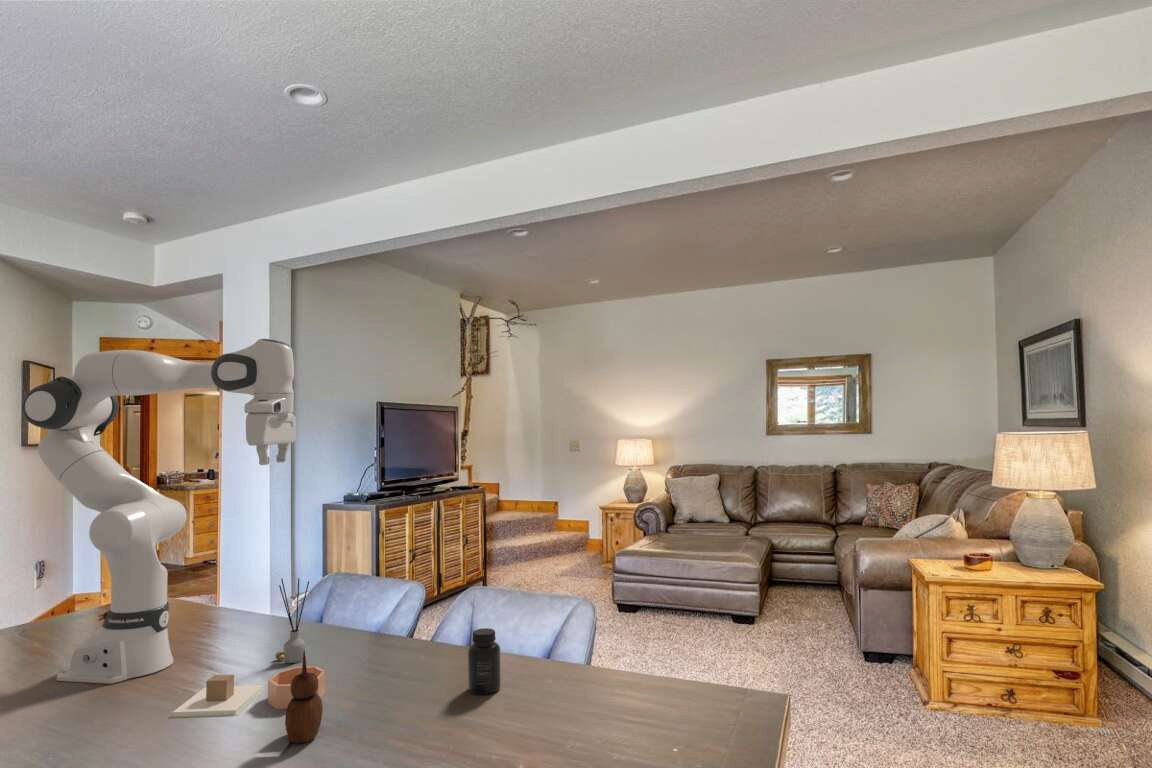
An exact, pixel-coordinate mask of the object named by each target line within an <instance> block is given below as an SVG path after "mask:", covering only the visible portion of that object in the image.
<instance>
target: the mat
mask: <svg viewBox="0 0 1152 768" xmlns="http://www.w3.org/2000/svg"><path fill="white" fill-rule="evenodd" d="M266 689H267V687H263V690H262V691H261V692H259V693H258V694H257V695H256V696H255V697H254V698H253V699H252V700H251V701H250V702H249V703H248V704H246V705H245V706H244V707H243V708H242V709H241V710H240V711H239V712H238V713H237V714H233V715H200V716H172V714H171V715H169V716H168V719H174V718H175V719H177V718H178V719H179V718H208V717H209V718H210V717H213V718H214V717H234V716H235V717H237V716H239V715H240V714H241V713H242V712H243V711H244V710H245V709H246V708H247V707H249V705H250V704H251V703H253V702H254V701H255V700H256V699H257V698H258V697H259V696H260V695H262V693H263V692H264V691H265V690H266Z"/></svg>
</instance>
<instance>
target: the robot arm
mask: <svg viewBox="0 0 1152 768" xmlns="http://www.w3.org/2000/svg"><path fill="white" fill-rule="evenodd" d="M294 364H295V361H294V353H293V349H292V347H291V345H289V344H287V343H286V342H283V341H279V340H274V339H268V338H260V339H258V340H256V342H254V343H253V344H251V345H250V346H247V347H246V348H245V347H244V348H243V349H240V350H239V349H238V350H237V351H233V352H229V353H223V354H222V355H221V354H220V355H219V356H218V357H217V358H216V359H215V360H214V362H212V363H211V362H209V363H208V362H207V363H206V362H196V361H188V360H184V359H181V358H177V357H173V356H169V355H166V354H161V353H156V352H153V351H148V350H147V351H146V350H137V349H117V350H114V349H113V350H106V351H97V352H93V353H89V354H85V355H84V356H82V357H81V358H80V359H79V360H78V361H77V362H76V365H75V368H74V373H73V375H72V376H71V377H69V378H68V377H66V376H61V375H60V376H58V377H55V378H54V379H52V380H50V381H48V382H46V383H43V384H40V385H38V386H35V387H34V388H32V389H30V390H29V391H28V392H27V393H26V395H24V397H23V400H22V401H21V412H22V415H23V417H24V418H25V420H26V421H27V422H28V423H30V424H31V425H33V426H36V427H38V428H40V429H41V428H42V429H45V430H49V433H48V434H46V435H45V436H44V437H43V438H42V439H41V440H40V442H39V444H38V446H37V453H38V456H39V457H40V459H41V461H42V463H43V464H44V465H45V466H46V469H48V471H49V472H50V473H51V475H53V477H54V478H55V479H56V480H57V481H58V482H59V483H60V484H61V485H62V486H63V487H64V488H65V489H66V490H67V491H68V492H69V493H70V494H71V495H72V496H73V497H74V498H75V499H76V500H77V501H78V502H79V503H80V504H81V505H83V506H84V507H85V508H88V509H90V510H94V511H96V512H98V513H99V514H98V515H96V517H95V518H94V519H93V520H92V522H91V524H90V525H89V526H90V527H89V531H88V532H89V533H88V535H89V539H90V542H91V544H92V545H93V546H94V548H95V549H97V550H99V552H101V553H102V555H103V557H104V559H105V561H106V564H107V567H108V571H109V577H110V609H109V610H107V611H105V612H104V613H103V614H100V615H98V616H97V617H98V619H97V622H100V621H102V620H103V623H102V624H101V627H100V628H99V629H97V630H95V632H93V633H92V634H91V635H90V636H88V637H87V638H85V639H84V640H83V641H82V642H80V643H79V644H77V646H76V647H75V648H74V650H73V653H72V655H71V658H70V662H69V663H70V664H69V666H67V667H65V668H63V669H62V670H61V671H60V672H58V673H57V676H56V681H59V682H74V683H75V682H76V683H90V684H91V683H93V684H94V683H95V684H110V685H111V684H115V683H119V682H122V681H125V680H130V679H132V678H138V677H142V676H146V675H151V674H154V673H156V672H159V671H162V670H164V669H167V668H168V667H169V666H171V665H172V664H173V663H174V658H173V655H172V654H173V653H172V650H171V647H170V641H169V640H170V639H169V632H168V630H169V629H168V627H169V620H170V604H169V602H168V580H169V579H168V575H169V574H168V569H167V568H166V567H165V566H164V565H163V564H162V563H161V562H160V559H159V557H158V553H157V550H156V549H157V548H156V545H157V544H159V543H163V542H165V541H168V540H170V539H171V538H173V537H174V536H175V535H177V534H178V533H179V532H181V531H182V529H183V528H184V527H185V525H186V523H187V515H188V514H187V510H186V507H185V506H184V505H183V504H182V503H181V502H180V501H178V500H176V499H173V498H169V497H168V496H166V495H163V494H162V493H160V492H158V491H157V490H156V489H154V488H152V487H150V486H148V485H147V484H145V483H143V482H142V481H141V480H139V479H138V478H136V477H134V476H133V475H132V474H130V472H129V471H127V470H126V469H125V468H124V467H123V466H122V465H121V464H119V462H118V461H117V460H115V459H114V458H113V457H112V456H111V455H110V453H108V452H107V451H106V450H105V449H104V448H103V446H101V445H100V444H99V443H98V442H97V441H96V439H95V437H97V436H99V435H101V434H103V433H104V432H105V430H106V429H107V427H108V426H109V425H110V424H111V423H112V422H113V421H114V420H115V418H116V417H117V415H118V413H119V411H120V410H119V409H120V403H119V400H118V399H119V398H118V397H117V396H124V397H126V396H127V397H129V396H131V397H133V396H134V397H135V396H146V395H147V396H148V395H154V394H161V393H166V392H167V393H168V392H173V391H180V390H185V389H198V388H199V389H203V388H207V389H220V390H222V391H224V392H227V393H233V394H244V395H245V394H246V395H250V396H253V398H252V399H251V400H249V402H246V403H245V404H244V407H243V408H244V413H245V414H246V416H245V417H246V418H245V439H246V440H245V441H246V443H247V445H248V446H253V447H254V446H256V449H255V450H256V453H257V456H258V464H259V465H260V466H266V465H269V464H270V456H269V454H268V450H269V446H271V445H277V449H278V450H277V455H275V458H276V459H275V460H276V463H285V462H286V461H287V453H288V450H289V444H294V443H296V441H297V419H296V416H295V415H294V408H295V407H294V406H295V405H294V403H295V402H294V401H295V400H294V399H295V395H294V394H295V393H294V388H293V382H294V378H295V365H294Z"/></svg>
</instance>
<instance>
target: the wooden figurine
mask: <svg viewBox="0 0 1152 768" xmlns="http://www.w3.org/2000/svg"><path fill="white" fill-rule="evenodd" d="M301 667H302V673H301V674H299V675H297V676H295V677H294V678H293V680H292V683H291V694H292V696H293V698H292V699H291V701H290V702H289V704H288V706H287V709H285V710H286V713H285V723H284V725H285V730H286V733H287V736H288V739H289V740H290V741H291V742H292V743H294V744H303V743H307V742H311V741H312V740H313V739H315V737H317V735H319V734H318V733H319V731H320V727H321V725H322V719H323V718H322V717H323V710H324V709H323V708H324V707H323V701H322V697H321V698H320V696H319V695H318V694H317V693H316V691H317V689H318V678H317V676H316V675H315V674H314V673H309V672H308V673H307V669H306V667H307V659H306V649H305V650H304V653H303V660H302V666H301Z"/></svg>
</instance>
